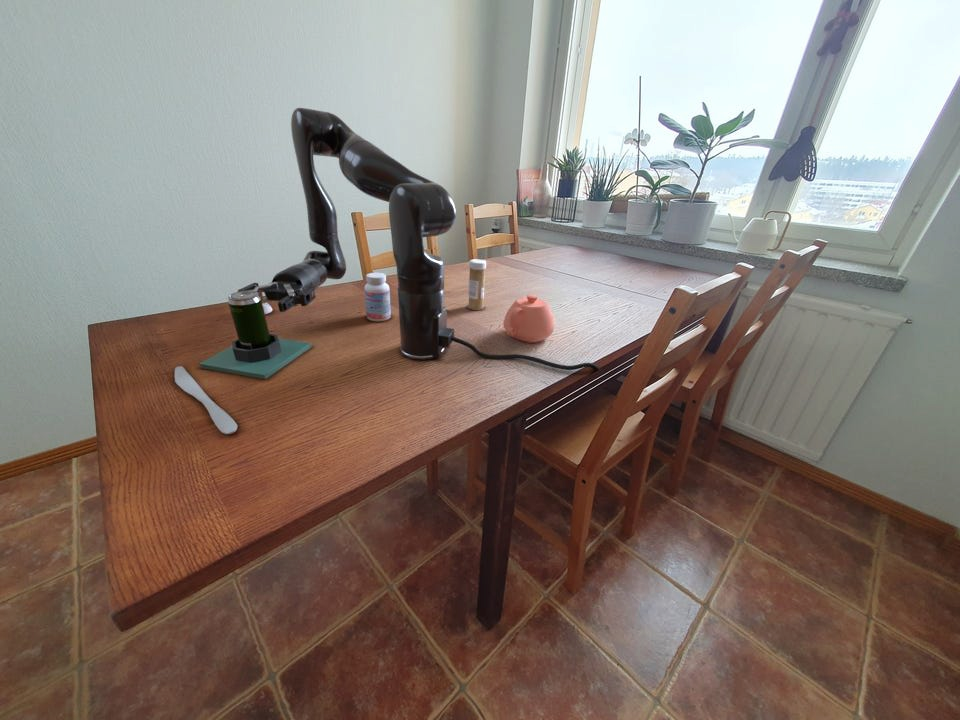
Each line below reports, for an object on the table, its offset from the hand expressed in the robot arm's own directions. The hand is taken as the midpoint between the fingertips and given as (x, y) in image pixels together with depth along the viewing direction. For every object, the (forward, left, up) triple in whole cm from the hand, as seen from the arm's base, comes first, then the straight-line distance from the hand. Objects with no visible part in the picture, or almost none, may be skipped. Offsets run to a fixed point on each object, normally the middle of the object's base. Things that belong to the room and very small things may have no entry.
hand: (259, 306), depth 74 cm
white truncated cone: (+15, -16, -10) cm, 24 cm away
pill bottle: (-14, -23, -10) cm, 29 cm away
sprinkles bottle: (-36, -39, -10) cm, 54 cm away
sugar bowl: (-52, -24, -10) cm, 58 cm away
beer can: (-1, +4, -9) cm, 9 cm away
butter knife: (-2, +19, -10) cm, 21 cm away
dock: (-1, +4, -9) cm, 10 cm away
